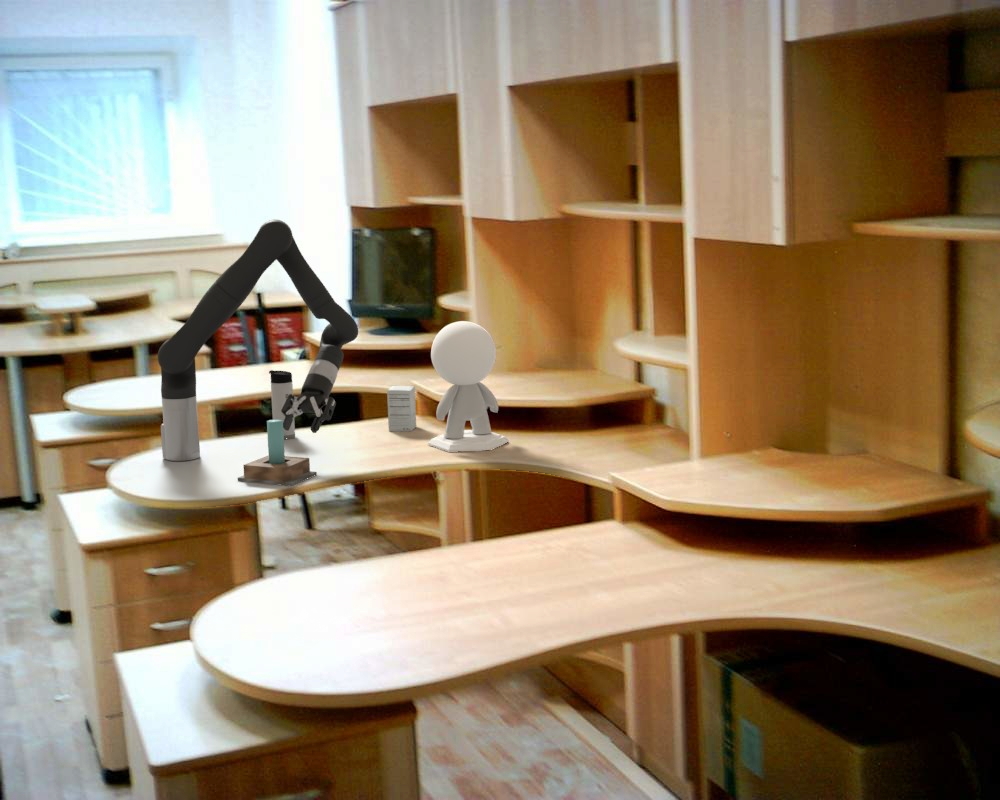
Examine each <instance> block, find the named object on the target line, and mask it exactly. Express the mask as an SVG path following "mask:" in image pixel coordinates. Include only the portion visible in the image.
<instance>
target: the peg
mask: <svg viewBox="0 0 1000 800" xmlns="http://www.w3.org/2000/svg"><path fill="white" fill-rule="evenodd" d="M266 428H267V429H266V432H267V433H266V434H267V449H268V451H267V452H268V455H269V464H278V465H280V464H283V463H285V456H286V455H285V441H284V440H285V439H284V435H283V420H273V419H269V420H266Z"/></svg>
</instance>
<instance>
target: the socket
mask: <svg viewBox="0 0 1000 800" xmlns="http://www.w3.org/2000/svg"><path fill="white" fill-rule="evenodd" d="M310 467H311V466H310V458H309V457H301V456H288V455H287V456H286V455H285V463H283V464H280V465H278V464H269V454H268V455H266V456H263V457H260V458H257V459H255V460H253V461H250V462H248V463H244V464H243V475H241V476H239V477H237V482H238V481H239V482H248V483H258V484H268V485H277V484H281V485H280V486H287V485H290V487H292V486H294V484H295V485H297V484H298V483H301V481H302V482H304V481H305V479H306V480H308V479H310V477H311V478H313V477H315V476H317V474H318V473H317V471H311V468H310ZM314 475H315V476H314ZM312 476H313V477H312ZM307 478H308V479H307ZM303 480H304V481H303ZM296 483H297V484H296Z"/></svg>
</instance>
